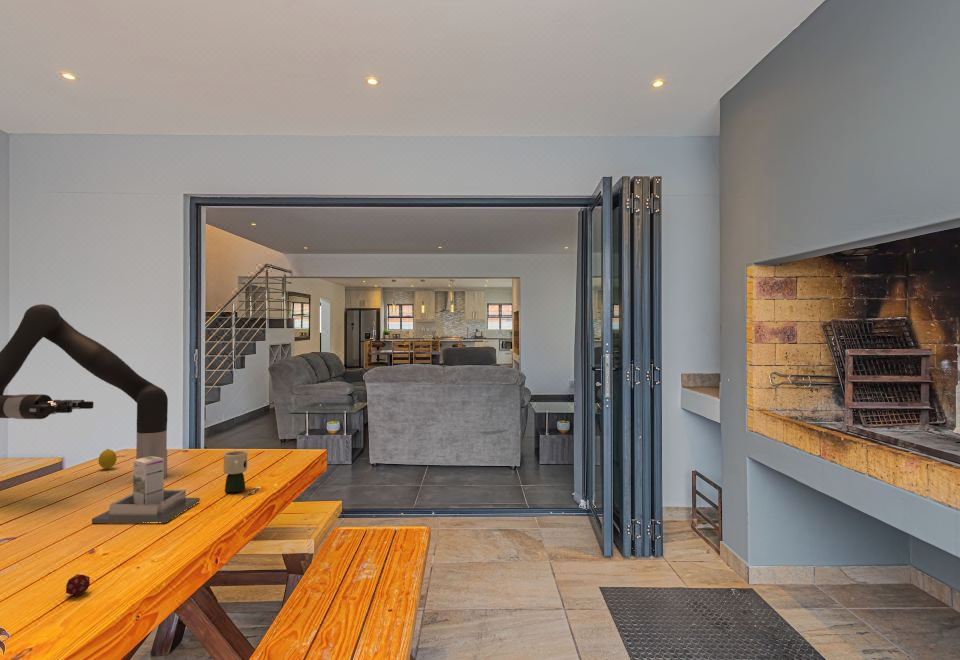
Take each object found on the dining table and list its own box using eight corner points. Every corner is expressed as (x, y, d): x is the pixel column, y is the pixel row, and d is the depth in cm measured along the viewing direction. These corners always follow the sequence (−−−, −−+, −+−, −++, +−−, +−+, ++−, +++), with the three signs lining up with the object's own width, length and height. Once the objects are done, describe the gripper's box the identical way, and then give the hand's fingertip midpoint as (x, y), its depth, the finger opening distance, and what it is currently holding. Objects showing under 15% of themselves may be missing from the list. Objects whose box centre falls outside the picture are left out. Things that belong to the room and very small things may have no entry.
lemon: (106, 472, 191) (107, 450, 191) (94, 471, 192) (95, 450, 192) (119, 468, 196) (120, 447, 197) (108, 467, 198) (108, 447, 198)
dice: (72, 590, 104) (73, 571, 104) (95, 589, 104) (96, 570, 104) (59, 600, 100) (59, 579, 100) (83, 599, 100) (83, 579, 100)
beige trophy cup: (248, 494, 166) (248, 455, 166) (224, 498, 162) (224, 457, 163) (245, 485, 175) (245, 448, 176) (222, 488, 172) (223, 450, 172)
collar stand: (134, 502, 157) (135, 488, 157) (199, 502, 158) (199, 488, 158) (91, 524, 139) (92, 507, 139) (165, 524, 140) (165, 507, 140)
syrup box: (164, 506, 150) (165, 457, 150) (144, 512, 144) (145, 461, 145) (151, 503, 152) (152, 455, 152) (131, 509, 147) (132, 459, 147)
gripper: (7, 397, 148) (64, 397, 148) (48, 391, 162) (99, 392, 162) (7, 422, 148) (63, 423, 148) (47, 415, 162) (99, 415, 162)
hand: (82, 407), depth 155 cm, fingers open, 8 cm apart
